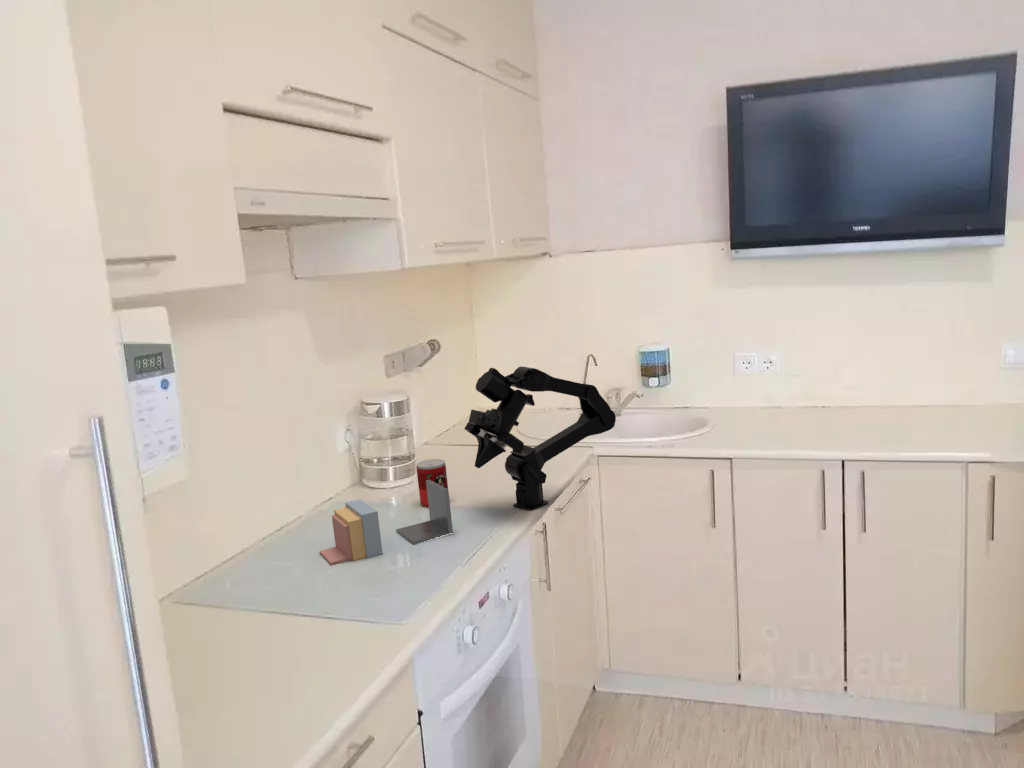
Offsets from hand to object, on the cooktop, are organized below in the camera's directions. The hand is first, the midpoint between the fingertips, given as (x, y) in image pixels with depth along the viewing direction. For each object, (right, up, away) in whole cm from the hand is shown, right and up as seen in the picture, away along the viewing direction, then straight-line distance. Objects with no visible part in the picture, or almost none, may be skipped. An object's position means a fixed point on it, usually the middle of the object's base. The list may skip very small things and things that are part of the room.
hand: (476, 467), depth 200 cm
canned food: (-12, -11, +18) cm, 25 cm away
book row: (-28, -18, -13) cm, 36 cm away
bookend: (-12, -15, -4) cm, 20 cm away
